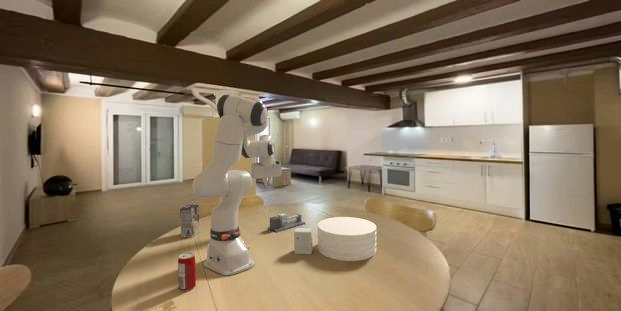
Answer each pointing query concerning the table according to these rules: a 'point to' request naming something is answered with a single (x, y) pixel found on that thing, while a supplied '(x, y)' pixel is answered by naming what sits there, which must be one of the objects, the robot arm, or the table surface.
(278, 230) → the slider rail mechanism
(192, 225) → the coffee box
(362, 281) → the table surface
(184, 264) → the soda can
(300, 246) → the small box
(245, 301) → the table surface
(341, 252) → the plate stack
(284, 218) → the sleeve
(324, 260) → the table surface
